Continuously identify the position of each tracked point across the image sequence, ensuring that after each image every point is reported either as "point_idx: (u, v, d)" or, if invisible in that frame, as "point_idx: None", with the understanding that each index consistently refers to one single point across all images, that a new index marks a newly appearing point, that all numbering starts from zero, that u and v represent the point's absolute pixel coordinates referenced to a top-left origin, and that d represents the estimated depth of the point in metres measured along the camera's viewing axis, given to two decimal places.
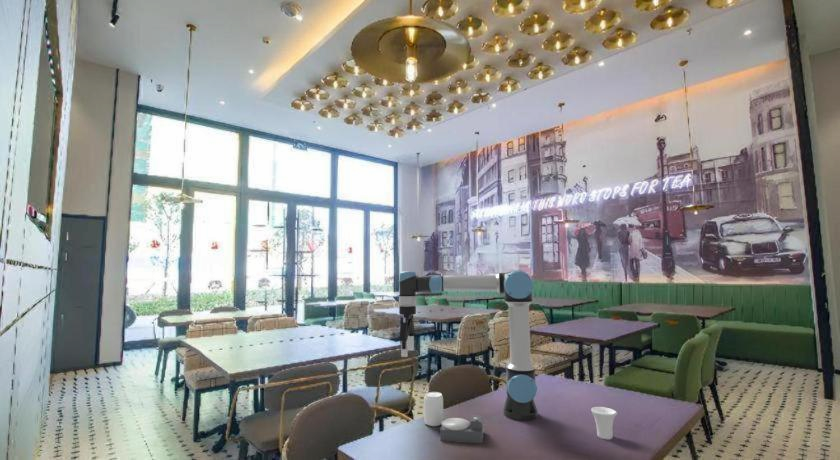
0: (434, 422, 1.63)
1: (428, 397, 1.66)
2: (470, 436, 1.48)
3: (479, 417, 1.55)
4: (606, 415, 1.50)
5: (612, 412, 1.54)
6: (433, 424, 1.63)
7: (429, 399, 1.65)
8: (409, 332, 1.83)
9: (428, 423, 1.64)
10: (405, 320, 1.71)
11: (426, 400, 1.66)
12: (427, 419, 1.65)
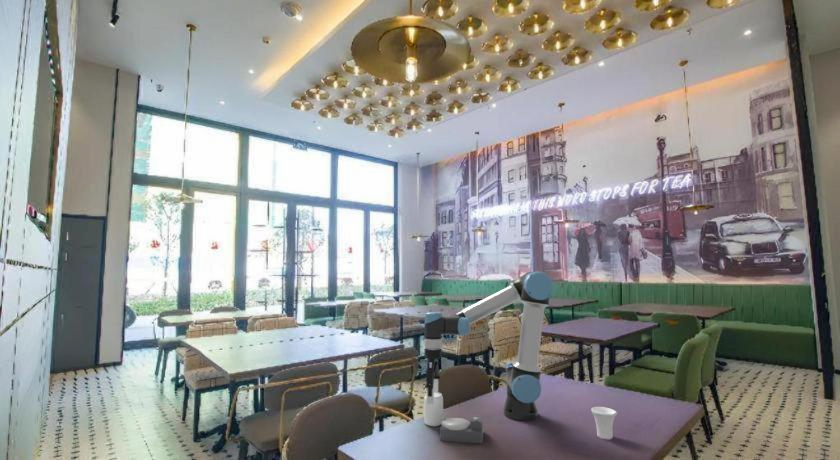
0: (434, 422, 1.63)
1: None
2: (470, 436, 1.48)
3: (479, 417, 1.55)
4: (606, 415, 1.50)
5: (612, 412, 1.54)
6: (433, 424, 1.63)
7: None
8: (433, 375, 1.75)
9: (428, 423, 1.64)
10: (431, 365, 1.63)
11: (426, 400, 1.66)
12: (427, 419, 1.65)
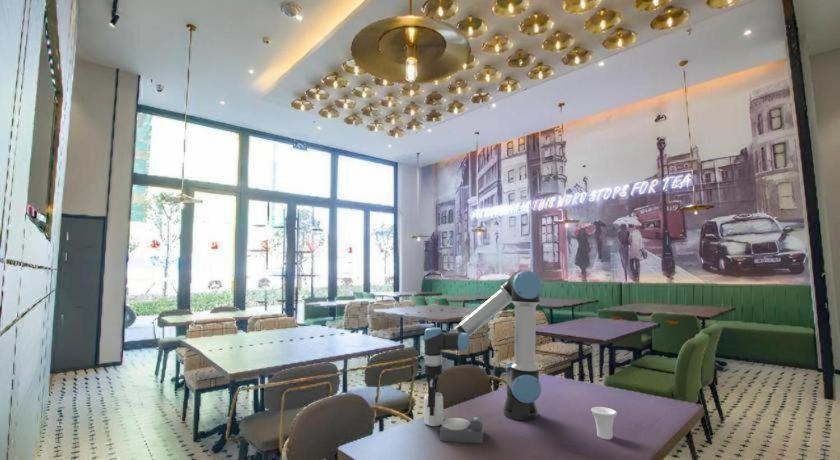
0: None
1: None
2: (470, 436, 1.48)
3: (479, 417, 1.55)
4: (606, 415, 1.50)
5: (612, 412, 1.54)
6: (433, 424, 1.63)
7: None
8: None
9: (428, 423, 1.64)
10: (432, 385, 1.63)
11: (426, 400, 1.66)
12: (427, 419, 1.65)
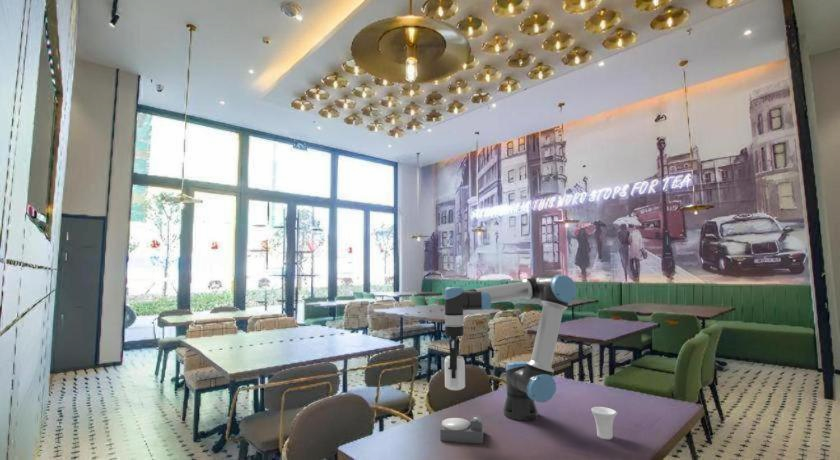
0: None
1: (449, 359, 1.55)
2: (470, 436, 1.48)
3: (479, 417, 1.55)
4: (606, 415, 1.50)
5: (612, 412, 1.54)
6: (455, 388, 1.53)
7: None
8: None
9: (449, 387, 1.54)
10: (454, 346, 1.52)
11: (447, 363, 1.55)
12: (448, 382, 1.54)
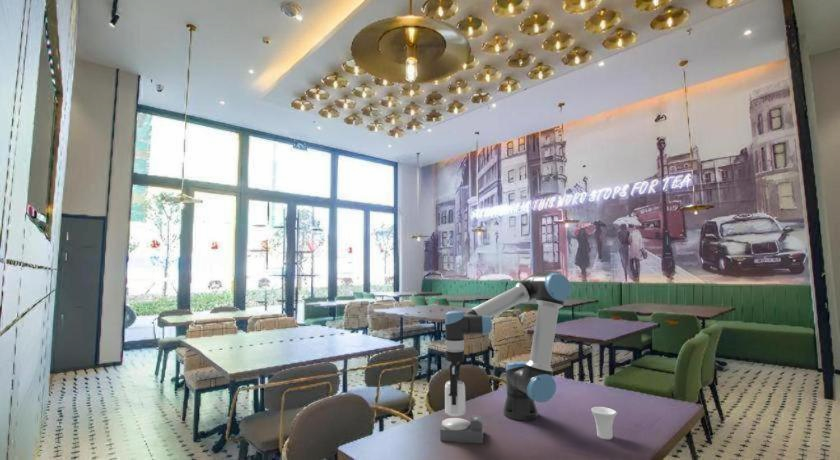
0: None
1: (449, 385, 1.54)
2: (470, 436, 1.48)
3: (479, 417, 1.55)
4: (606, 415, 1.50)
5: (612, 412, 1.54)
6: (455, 414, 1.52)
7: None
8: None
9: (449, 413, 1.52)
10: (454, 372, 1.51)
11: (447, 388, 1.54)
12: (448, 408, 1.53)
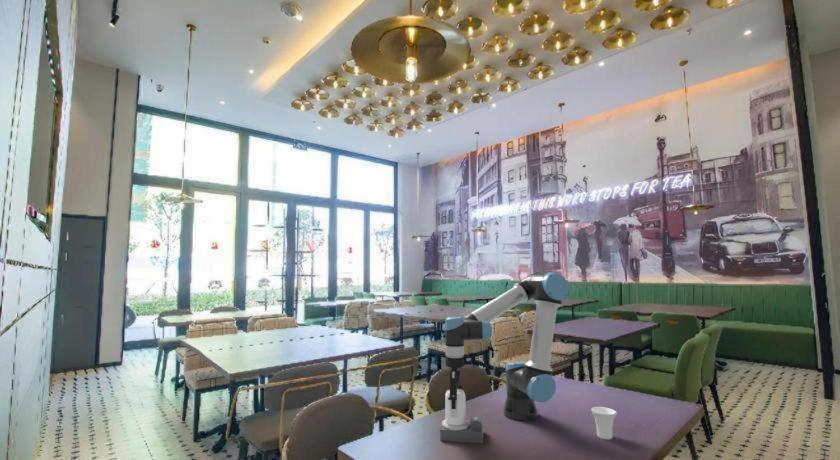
0: (456, 421, 1.51)
1: None
2: (470, 436, 1.48)
3: (479, 417, 1.55)
4: (606, 415, 1.50)
5: (612, 412, 1.54)
6: (455, 423, 1.51)
7: None
8: None
9: (450, 422, 1.52)
10: (454, 375, 1.51)
11: None
12: (448, 418, 1.53)
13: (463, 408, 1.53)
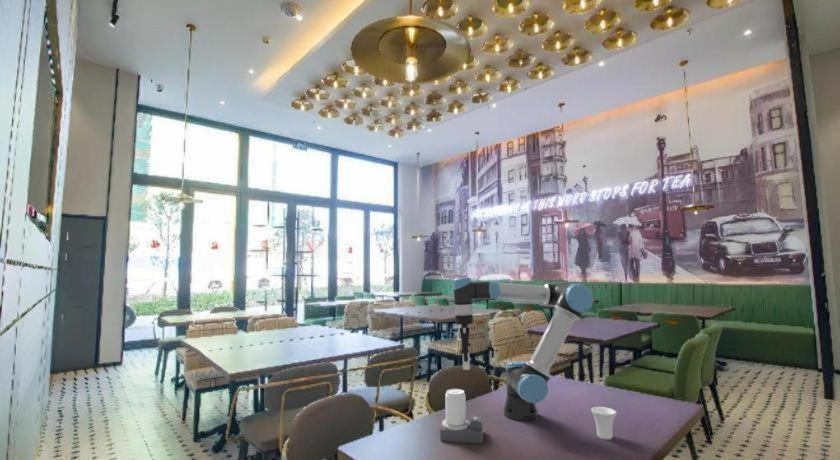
0: (456, 421, 1.51)
1: (450, 394, 1.54)
2: (470, 436, 1.48)
3: (479, 417, 1.55)
4: (606, 415, 1.50)
5: (612, 412, 1.54)
6: (455, 423, 1.51)
7: (451, 396, 1.53)
8: None
9: (450, 422, 1.52)
10: (465, 330, 1.60)
11: (448, 397, 1.54)
12: (448, 417, 1.53)
13: (463, 408, 1.53)
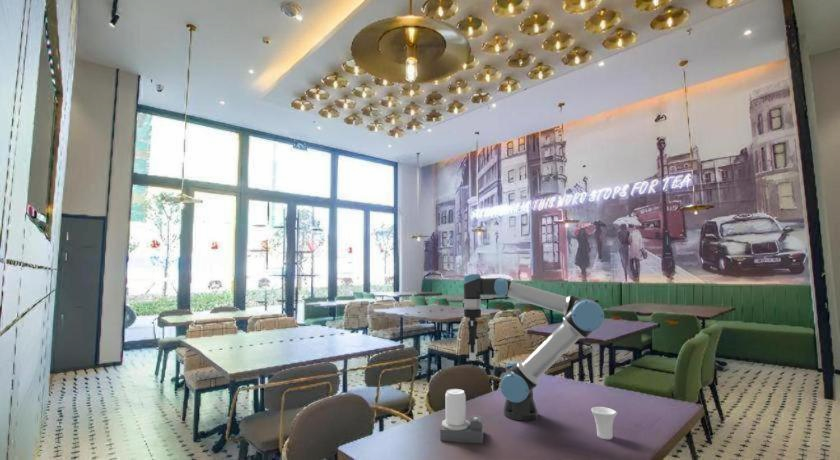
0: (456, 421, 1.51)
1: (450, 394, 1.54)
2: (470, 436, 1.48)
3: (479, 417, 1.55)
4: (606, 415, 1.50)
5: (612, 412, 1.54)
6: (455, 423, 1.51)
7: (451, 396, 1.53)
8: None
9: (450, 422, 1.52)
10: (473, 323, 1.69)
11: (448, 397, 1.54)
12: (448, 417, 1.53)
13: (463, 408, 1.53)
